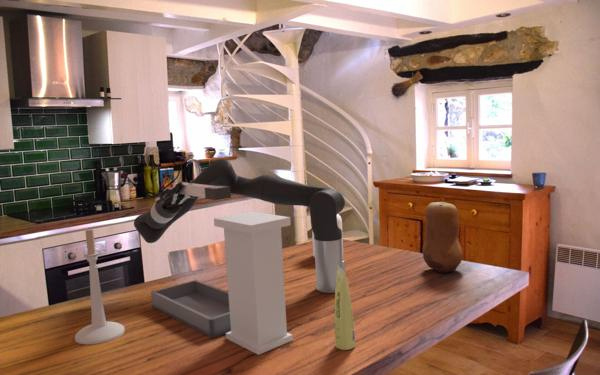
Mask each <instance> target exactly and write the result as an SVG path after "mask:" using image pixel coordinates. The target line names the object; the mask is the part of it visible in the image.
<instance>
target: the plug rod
mask: <svg viewBox="0 0 600 375" xmlns="http://www.w3.org/2000/svg"><path fill="white" fill-rule="evenodd" d="M181 182H182V184H183V189H182V190H181V192H180V193H178V194H183V195H190V196H197V197H198V198H204V199H205V200H212V201H219V200H225V199H232V194H231V190H230V187H228V186H213V184H212V185H211V184H210V185H203V184H194V183H188V182H185V181H181ZM178 183H179V182H173V183H172V187H175V186H176V185H177V184H178Z"/></svg>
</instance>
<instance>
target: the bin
mask: <svg viewBox="0 0 600 375" xmlns="http://www.w3.org/2000/svg"><path fill="white" fill-rule="evenodd" d="M150 294H151V295H150V296H151V305H152V306H151V307H152V308H153V309H155V310H157V311H159V312H161V313H163V314H165V315H166V316H169V317H170V318H173V320H176V321H179V322H180V323H182V324H183V325H186V326H187V327H190V329H191V328H192V329H193V330H195V331H197V332H199V333H201V334H203V335H205V336H206V337H208V338H210V339H214V338H216V337H220V336H222V335H226V333H227V332H230V331H231V324H230V309H229V295H228V290H224V289H221V288H219V287H216V286H214V285H211V284H208V283H206V282H203V281H201V280H198V279H193V280H189V281H185V282H182V283H179V284H174V285H170V286H168V287H167V286H166V287H164V288H161V289H160V288H159V289H156V290H152V291H150Z"/></svg>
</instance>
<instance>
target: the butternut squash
mask: <svg viewBox="0 0 600 375" xmlns="http://www.w3.org/2000/svg"><path fill="white" fill-rule="evenodd" d="M425 221H426V222H425V223H426V225H425V239H424V243H423V246H422V257H423V260H424V262H425V264H426V265H427V267H429V268H430V269H432V270H435V271H437V272H438V273H443V274H447V273H449V272H453V271H455V270H457V268H458V267H460V264H461V262H462V261H463V250H462V246H461V244H460V241H459V239H458V233H459V228H460V227H459V226H460V223H459V222H460V221H459V212H458V208H457V207H456V206H455V205H454V204H452V203H448V202H444V201H437V202H430V203H429V204H428V205H427V206H426V210H425Z"/></svg>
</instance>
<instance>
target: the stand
mask: <svg viewBox="0 0 600 375" xmlns="http://www.w3.org/2000/svg"><path fill="white" fill-rule="evenodd" d="M213 224H214V225H213V226H214V227H216V228H222V229H223V237H224V251H225V263H226V265H225V266H226V277H227V278H226V279H227V280H226V281H227V292H228V295H229V309H230V324H231V331H230V332H227V333H225V339H226V340H228V341H230V342H233V343H234V344H236V345H238V346H240V347H242V348H244V349H246V350H248V351H250V352H252V353H254V354H256V355H258V356H260V355H261V354H263V353H267V352H268V351H271V350H273V349H276V348H278V347H280V346H283V345H285V344H287V343H290V342H292V341H293V340H294V337H293V334H292V333H290V332H288V331H287V327H288V326H287V313H286V312H287V311H286V297H285V296H286V294H285V277H284V276H285V273H284V261H283V260H284V259H283V240H282V238H283V237H282V228H284V227H288V226H289V227H290V226H291V224H292V222H291V216H285V215H277V214H271V213H264V212H259V211H253V210H251V211H246V212H241V213H235V214H230V215H223V216H219V217H214V218H213Z"/></svg>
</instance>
